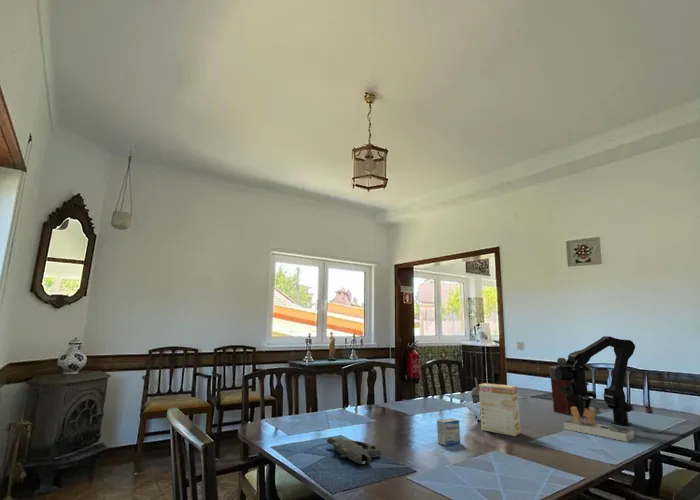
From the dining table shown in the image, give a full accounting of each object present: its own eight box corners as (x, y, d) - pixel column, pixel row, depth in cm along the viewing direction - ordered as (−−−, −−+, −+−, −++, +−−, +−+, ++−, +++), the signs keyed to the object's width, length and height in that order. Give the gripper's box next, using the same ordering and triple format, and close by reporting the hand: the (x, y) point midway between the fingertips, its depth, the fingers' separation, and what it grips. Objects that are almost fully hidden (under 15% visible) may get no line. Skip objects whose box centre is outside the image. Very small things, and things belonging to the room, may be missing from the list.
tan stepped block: (575, 420, 185) (574, 406, 187) (596, 424, 178) (594, 409, 179) (572, 421, 183) (570, 407, 185) (592, 425, 176) (591, 410, 177)
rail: (572, 426, 178) (572, 419, 179) (634, 438, 159) (633, 430, 160) (564, 429, 173) (563, 421, 174) (626, 441, 155) (625, 433, 155)
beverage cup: (489, 422, 186) (486, 378, 190) (473, 421, 188) (471, 378, 191) (487, 418, 193) (484, 376, 197) (472, 417, 195) (469, 376, 198)
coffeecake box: (521, 433, 167) (517, 385, 171) (515, 436, 162) (511, 387, 166) (487, 427, 178) (484, 382, 181) (480, 430, 172) (477, 384, 176)
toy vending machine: (584, 413, 203) (577, 357, 208) (568, 415, 199) (562, 358, 204) (568, 409, 211) (563, 356, 216) (553, 411, 207) (548, 357, 212)
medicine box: (445, 446, 150) (444, 422, 152) (437, 443, 154) (436, 420, 156) (460, 443, 154) (459, 420, 156) (452, 440, 158) (451, 417, 159)
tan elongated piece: (354, 452, 128) (392, 451, 135) (324, 432, 150) (357, 432, 157) (352, 469, 127) (390, 467, 134) (322, 446, 149) (356, 445, 156)
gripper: (570, 376, 196) (574, 409, 193) (552, 380, 185) (555, 415, 182) (594, 379, 187) (598, 413, 185) (577, 383, 176) (581, 419, 174)
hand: (583, 415), depth 181 cm, fingers closed on tan stepped block, 3 cm apart
